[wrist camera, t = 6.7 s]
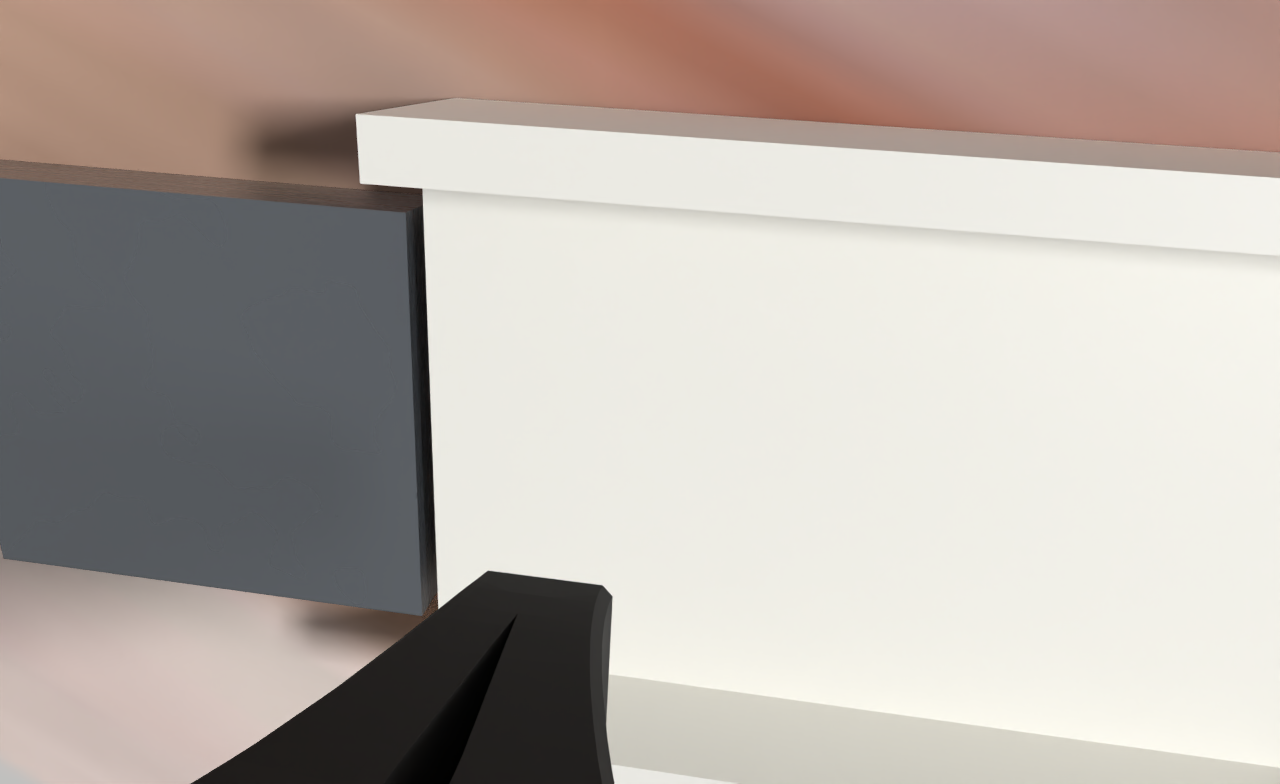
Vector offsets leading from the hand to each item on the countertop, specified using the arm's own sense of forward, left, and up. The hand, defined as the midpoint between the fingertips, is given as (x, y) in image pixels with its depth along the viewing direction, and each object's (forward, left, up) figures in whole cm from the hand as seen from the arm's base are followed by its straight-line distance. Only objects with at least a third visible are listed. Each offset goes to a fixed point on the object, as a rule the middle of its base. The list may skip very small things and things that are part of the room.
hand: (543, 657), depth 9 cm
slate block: (0, +7, -7) cm, 10 cm away
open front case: (0, -5, -6) cm, 8 cm away
